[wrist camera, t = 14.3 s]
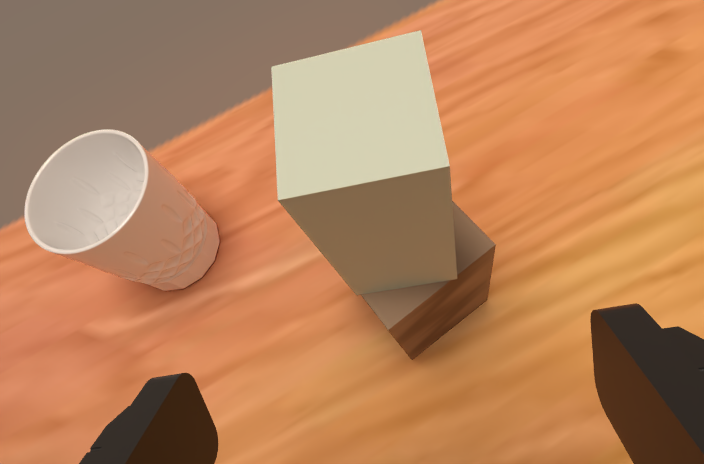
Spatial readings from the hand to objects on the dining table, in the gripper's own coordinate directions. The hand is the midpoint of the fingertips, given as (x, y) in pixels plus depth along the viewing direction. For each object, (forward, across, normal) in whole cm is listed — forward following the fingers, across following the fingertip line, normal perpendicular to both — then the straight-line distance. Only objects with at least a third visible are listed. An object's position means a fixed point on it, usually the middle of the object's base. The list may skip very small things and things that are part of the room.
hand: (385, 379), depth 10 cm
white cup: (+25, +17, +5) cm, 30 cm away
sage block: (+13, 0, +2) cm, 13 cm away
